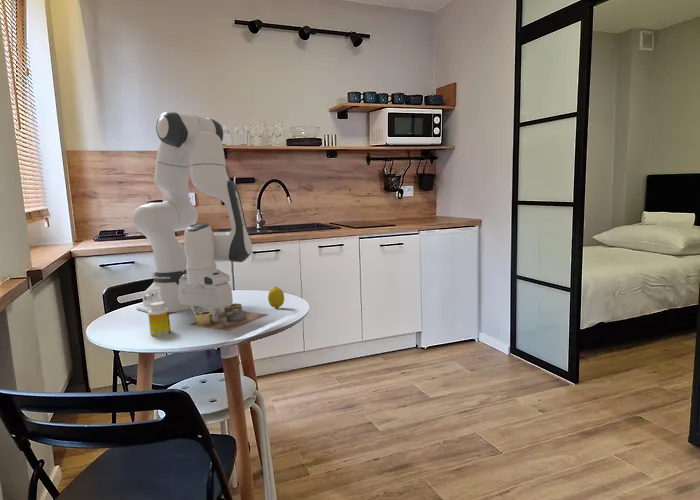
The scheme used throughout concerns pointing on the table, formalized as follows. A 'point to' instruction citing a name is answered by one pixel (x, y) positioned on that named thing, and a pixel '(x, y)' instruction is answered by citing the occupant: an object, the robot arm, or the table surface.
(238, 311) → the plate
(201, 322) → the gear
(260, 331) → the table surface
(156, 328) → the supplement bottle
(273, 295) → the lemon
